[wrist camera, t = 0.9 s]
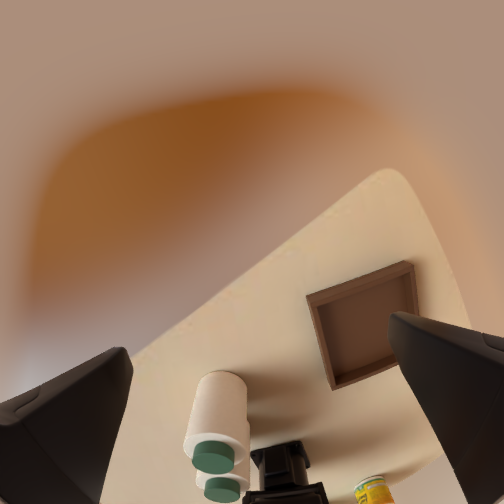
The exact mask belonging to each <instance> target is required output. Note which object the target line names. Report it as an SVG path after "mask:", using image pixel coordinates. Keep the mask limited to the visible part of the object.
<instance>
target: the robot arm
mask: <svg viewBox="0 0 504 504" xmlns="http://www.w3.org/2000/svg"><path fill="white" fill-rule="evenodd" d="M387 338H388V342H389V344H390V346H391V349H392V351H393V353H394V355H395V358H396V360H397V362H398V364H399V367H400V369H401V371H402V373H403V375H404V377H405V379H406V381H407V382H408V384H409V386H410V388H411V389H412V391H413V393H414V395H415V397H416V398H417V400H418V402H419V404H420V406H421V407H422V409H423V411H424V413H425V415H426V417H427V418H428V420H429V422H430V424H431V426H432V428H433V430H434V432H435V434H436V436H437V438H438V440H439V442H440V444H441V446H442V448H443V450H444V452H445V454H446V456H447V458H448V460H449V462H450V464H451V466H452V468H453V469H454V473H455V475H456V477H457V479H458V481H459V484H460V486H461V488H462V491H463V493H464V495H465V498H466V500H467V502H468V504H498V503H499V502H501V501H502V500H503V499H504V338H502V337H498V336H494V335H489V334H485V333H482V334H481V332H477V331H474V330H470V329H466V328H462V327H458V326H454V325H451V324H447V323H443V322H439V321H435V320H432V319H428V318H424V317H420V316H417V315H413V314H409V313H406V312H402V311H399V312H395V313H391V314H390V316H389V321H388V333H387ZM132 376H133V366H132V363H131V360H130V358H129V355H128V353H127V350H126V349H125V348H124V347H113V348H111V349H109V350H107V351H105V352H103V353H101V354H100V355H98V356H96V357H94V358H92V359H90V360H88V361H86V362H84V363H83V364H81V365H79V366H77V367H75V368H73V369H71V370H69V371H67V372H65V373H63V374H61V375H59V376H57V377H55V378H53V379H52V380H50V381H48V382H45V383H44V384H42V385H39V386H38V387H36V388H34V389H32V390H29V391H27V392H25V393H23V394H21V395H19V396H16V397H14V398H12V399H10V400H7V401H5V402H2V403H0V504H99V501H100V497H101V493H102V489H103V485H104V481H105V477H106V473H107V469H108V466H109V462H110V458H111V455H112V451H113V448H114V444H115V441H116V438H117V434H118V431H119V428H120V424H121V421H122V418H123V415H124V412H125V408H126V404H127V400H128V395H129V390H130V386H131V381H132ZM250 457H251V458H252V460H253V461H254V463H255V465H256V466H257V468H258V469H259V480H260V491H246V495H245V496H244V497H243V498H242V504H329V502H328V499H327V496H326V493H325V490H324V487H323V483H322V482H317V483H316V484H310V485H309V483H308V478H307V472H306V469H307V468H310V462H309V460H308V457H307V455H306V452H305V450H304V447H303V444H302V442H301V441H296V442H292V443H288V444H284V445H279V446H275V447H270V448H266V449H261V450H255V451H251V452H250Z"/></svg>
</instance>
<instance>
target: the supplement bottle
mask: <svg viewBox="0 0 504 504" xmlns="http://www.w3.org/2000/svg"><path fill="white" fill-rule="evenodd" d="M354 492H355V495H356V498H357V501H358V504H395V503H394V500H393V498H392V496H391V493H390V491H389V489H388V486H387V484H386V481H385V479H384V478H383V477H381V476H374V477H370V478H368V479H365V480H363V481H361V482H360V483H359V484H357V485H356V487H355V489H354Z"/></svg>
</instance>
